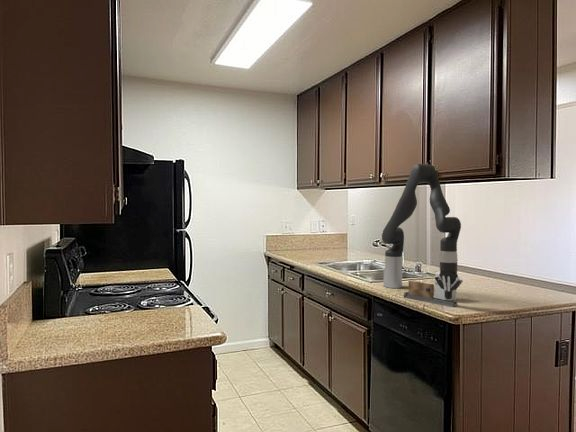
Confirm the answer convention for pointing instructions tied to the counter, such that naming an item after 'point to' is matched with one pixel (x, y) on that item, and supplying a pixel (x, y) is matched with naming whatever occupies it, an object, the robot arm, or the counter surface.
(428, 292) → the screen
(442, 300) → the rail
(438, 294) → the supplement box
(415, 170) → the robot arm
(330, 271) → the counter surface
